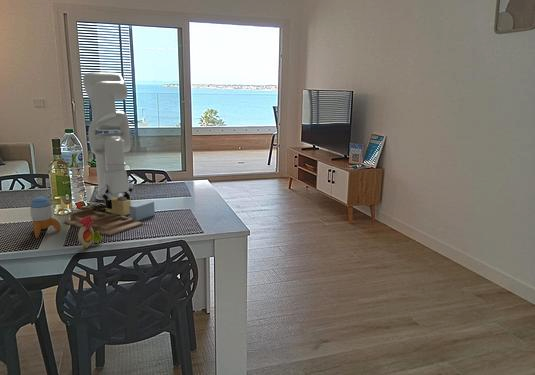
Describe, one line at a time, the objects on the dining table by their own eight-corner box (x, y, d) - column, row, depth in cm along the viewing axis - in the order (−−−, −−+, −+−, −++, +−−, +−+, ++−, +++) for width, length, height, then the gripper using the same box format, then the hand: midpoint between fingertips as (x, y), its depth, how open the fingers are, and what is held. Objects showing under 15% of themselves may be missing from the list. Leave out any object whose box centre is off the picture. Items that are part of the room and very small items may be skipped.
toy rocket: (40, 241, 154) (25, 203, 150) (25, 240, 160) (10, 203, 156) (65, 229, 162) (51, 193, 158) (50, 229, 168) (36, 193, 164)
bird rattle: (95, 254, 146) (106, 236, 153) (85, 230, 139) (97, 212, 146) (78, 253, 147) (90, 235, 154) (67, 229, 140) (80, 212, 147)
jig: (64, 222, 172) (63, 215, 171) (98, 213, 185) (97, 206, 184) (109, 236, 157) (109, 228, 157) (143, 224, 170) (142, 217, 170)
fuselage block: (105, 211, 188) (104, 195, 187) (113, 209, 192) (111, 193, 190) (123, 215, 182) (122, 199, 180) (131, 213, 185) (130, 197, 184)
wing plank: (130, 219, 177) (129, 205, 176) (148, 213, 186) (147, 200, 184) (136, 221, 175) (135, 207, 174) (154, 215, 184) (154, 201, 182)
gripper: (125, 163, 191) (128, 200, 195) (92, 169, 177) (95, 209, 180) (137, 165, 187) (139, 202, 191) (103, 171, 173) (107, 211, 176)
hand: (118, 205), depth 186 cm, fingers open, 9 cm apart
